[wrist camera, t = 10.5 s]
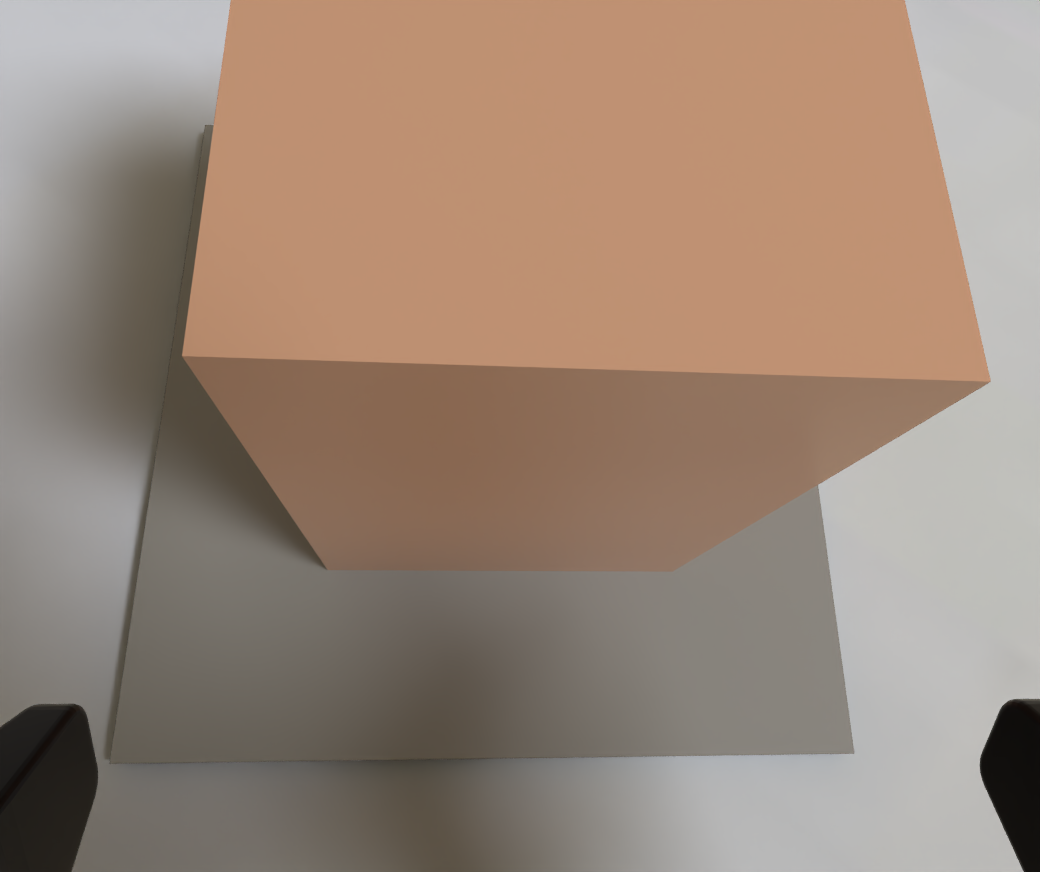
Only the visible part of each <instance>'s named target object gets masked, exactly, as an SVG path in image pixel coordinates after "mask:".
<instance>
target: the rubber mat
mask: <svg viewBox="0 0 1040 872" xmlns="http://www.w3.org/2000/svg"><path fill="white" fill-rule="evenodd" d="M213 127H214V125H205V130H204V137H203V144H202V150H201V157H200V164H199V170H198V177H197V184H196V190H195V197H194V203H193V210H192V217H191V223H190V230H189V237H188V243H187V250H186V257H185V263H184V270H183V277H182V283H181V290H180V297H179V303H178V310H177V317H176V323H175V330H174V337H173V343H172V350H171V357H170V363H169V370H168V377H167V383H166V390H165V397H164V403H163V410H162V417H161V423H160V430H159V437H158V443H157V450H156V457H155V463H154V470H153V477H152V483H151V490H150V496H149V503H148V510H147V516H146V523H145V530H144V536H143V543H142V550H141V556H140V563H139V570H138V576H137V583H136V590H135V596H134V603H133V610H132V616H131V623H130V630H129V636H128V643H127V650H126V656H125V663H124V670H123V676H122V683H121V690H120V696H119V703H118V710H117V716H116V723H115V730H114V736H113V743H112V750H111V756H110V763H109V764H118V763H192V762H266V761H340V760H414V759H488V758H562V757H636V756H710V755H784V754H854V748H853V740H852V733H851V725H850V718H849V711H848V703H847V696H846V689H845V681H844V674H843V666H842V659H841V652H840V644H839V637H838V630H837V622H836V615H835V607H834V600H833V593H832V585H831V578H830V571H829V563H828V556H827V548H826V541H825V534H824V526H823V519H822V512H821V504H820V497H819V489H818V485H817V486H815V487H813V488H812V489H810V490H808V491H807V492H805V493H803V494H802V495H800V496H798V497H797V498H795V499H793V500H792V501H790V502H788V503H787V504H785V505H783V506H782V507H780V508H778V509H777V510H775V511H773V512H771V513H770V514H768V515H766V516H765V517H763V518H761V519H760V520H758V521H756V522H755V523H753V524H751V525H750V526H748V527H746V528H745V529H743V530H741V531H740V532H738V533H736V534H735V535H733V536H731V537H730V538H728V539H726V540H725V541H723V542H721V543H720V544H718V545H716V546H715V547H713V548H711V549H709V550H708V551H706V552H704V553H703V554H701V555H699V556H698V557H696V558H694V559H693V560H691V561H689V562H688V563H686V564H684V565H683V566H681V567H679V568H678V569H676V570H674V571H673V572H644V571H415V570H327V568H326V567H325V565H324V564H323V562H322V561H321V559H320V558H319V557H318V555H317V554H316V552H315V551H314V549H313V548H312V546H311V545H310V543H309V542H308V540H307V539H306V537H305V536H304V535H303V533H302V532H301V530H300V529H299V527H298V526H297V524H296V523H295V521H294V520H293V518H292V517H291V515H290V514H289V512H288V511H287V510H286V508H285V507H284V505H283V504H282V502H281V501H280V499H279V498H278V496H277V495H276V493H275V492H274V490H273V489H272V488H271V486H270V485H269V483H268V482H267V480H266V479H265V477H264V476H263V474H262V473H261V471H260V470H259V468H258V467H257V466H256V464H255V463H254V461H253V460H252V458H251V457H250V455H249V454H248V452H247V451H246V449H245V448H244V446H243V445H242V443H241V442H240V441H239V439H238V438H237V436H236V435H235V433H234V432H233V430H232V429H231V427H230V426H229V424H228V423H227V421H226V420H225V419H224V417H223V416H222V414H221V413H220V411H219V410H218V408H217V407H216V405H215V404H214V402H213V401H212V399H211V398H210V397H209V395H208V394H207V392H206V391H205V389H204V388H203V386H202V385H201V383H200V382H199V380H198V379H197V377H196V376H195V374H194V373H193V372H192V370H191V369H190V367H189V366H188V364H187V363H186V361H185V360H184V358H183V357H182V352H183V345H184V338H185V330H186V323H187V316H188V309H189V301H190V294H191V287H192V280H193V272H194V265H195V258H196V250H197V243H198V236H199V229H200V221H201V214H202V207H203V200H204V192H205V185H206V178H207V170H208V163H209V156H210V149H211V141H212V134H213Z"/></svg>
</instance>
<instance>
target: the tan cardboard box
mask: <svg viewBox="0 0 1040 872" xmlns="http://www.w3.org/2000/svg"><path fill="white" fill-rule="evenodd" d="M182 357H183V358H184V360H185V361H186V363H187V364H188V366H189V367H190V369H191V370H192V372H193V373H194V374H195V376H196V377H197V379H198V380H199V382H200V383H201V385H202V386H203V388H204V389H205V391H206V392H207V394H208V395H209V397H210V398H211V399H212V401H213V402H214V404H215V405H216V407H217V408H218V410H219V411H220V413H221V414H222V416H223V417H224V419H225V420H226V421H227V423H228V424H229V426H230V427H231V429H232V430H233V432H234V433H235V435H236V436H237V438H238V439H239V441H240V442H241V443H242V445H243V446H244V448H245V449H246V451H247V452H248V454H249V455H250V457H251V458H252V460H253V461H254V463H255V464H256V466H257V467H258V468H259V470H260V471H261V473H262V474H263V476H264V477H265V479H266V480H267V482H268V483H269V485H270V486H271V488H272V489H273V490H274V492H275V493H276V495H277V496H278V498H279V499H280V501H281V502H282V504H283V505H284V507H285V508H286V510H287V511H288V512H289V514H290V515H291V517H292V518H293V520H294V521H295V523H296V524H297V526H298V527H299V529H300V530H301V532H302V533H303V535H304V536H305V537H306V539H307V540H308V542H309V543H310V545H311V546H312V548H313V549H314V551H315V552H316V554H317V555H318V557H319V558H320V559H321V561H322V562H323V564H324V565H325V567H326V568H327V570H415V571H644V572H673V571H674V570H676V569H678V568H679V567H681V566H683V565H684V564H686V563H688V562H689V561H691V560H693V559H694V558H696V557H698V556H699V555H701V554H703V553H704V552H706V551H708V550H709V549H711V548H713V547H715V546H716V545H718V544H720V543H721V542H723V541H725V540H726V539H728V538H730V537H731V536H733V535H735V534H736V533H738V532H740V531H741V530H743V529H745V528H746V527H748V526H750V525H751V524H753V523H755V522H756V521H758V520H760V519H761V518H763V517H765V516H766V515H768V514H770V513H771V512H773V511H775V510H777V509H778V508H780V507H782V506H783V505H785V504H787V503H788V502H790V501H792V500H793V499H795V498H797V497H798V496H800V495H802V494H803V493H805V492H807V491H808V490H810V489H812V488H813V487H815V486H817V485H818V484H820V483H822V482H823V481H825V480H827V479H828V478H830V477H832V476H834V475H835V474H837V473H839V472H840V471H842V470H844V469H845V468H847V467H849V466H850V465H852V464H854V463H855V462H857V461H859V460H860V459H862V458H864V457H865V456H867V455H869V454H870V453H872V452H874V451H875V450H877V449H879V448H880V447H882V446H884V445H885V444H887V443H889V442H890V441H892V440H894V439H896V438H897V437H899V436H901V435H902V434H904V433H906V432H907V431H909V430H911V429H912V428H914V427H916V426H917V425H919V424H921V423H922V422H924V421H926V420H927V419H929V418H931V417H932V416H934V415H936V414H937V413H939V412H941V411H942V410H944V409H946V408H947V407H949V406H951V405H953V404H954V403H956V402H958V401H959V400H961V399H963V398H964V397H966V396H968V395H969V394H971V393H973V392H974V391H976V390H978V389H979V388H981V387H983V386H984V385H986V384H988V383H989V382H991V381H990V376H989V372H988V367H987V363H986V359H985V354H984V350H983V345H982V341H981V336H980V332H979V328H978V323H977V319H976V314H975V310H974V305H973V301H972V297H971V292H970V288H969V283H968V279H967V274H966V270H965V266H964V261H963V257H962V252H961V248H960V244H959V239H958V235H957V230H956V226H955V221H954V217H953V213H952V208H951V204H950V199H949V195H948V190H947V186H946V182H945V177H944V173H943V168H942V164H941V159H940V155H939V151H938V146H937V142H936V137H935V133H934V129H933V124H932V120H931V115H930V111H929V106H928V102H927V98H926V93H925V89H924V84H923V80H922V75H921V71H920V67H919V62H918V58H917V53H916V49H915V44H914V40H913V36H912V31H911V27H910V22H909V18H908V13H907V9H906V5H905V0H231V3H230V10H229V18H228V25H227V32H226V40H225V47H224V54H223V61H222V69H221V76H220V83H219V90H218V98H217V105H216V112H215V120H214V127H213V134H212V141H211V149H210V156H209V163H208V170H207V178H206V185H205V192H204V200H203V207H202V214H201V221H200V229H199V236H198V243H197V250H196V258H195V265H194V272H193V280H192V287H191V294H190V301H189V309H188V316H187V323H186V330H185V338H184V345H183V352H182Z"/></svg>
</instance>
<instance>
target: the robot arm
mask: <svg viewBox="0 0 1040 872" xmlns="http://www.w3.org/2000/svg"><path fill="white" fill-rule="evenodd" d="M980 773H981V777H982V780H983V783H984V786H985V788H986V790H987V792H988V794H989V797H990V799H991V801H992V803H993V805H994V808H995V810H996V812H997V814H998V816H999V819H1000V821H1001V823H1002V825H1003V827H1004V830H1005V832H1006V834H1007V836H1008V838H1009V841H1010V843H1011V845H1012V847H1013V849H1014V851H1015V854H1016V856H1017V858H1018V860H1019V862H1020V865H1021V867H1022V869H1023V871H1024V872H1040V699H1013V700H1010V701H1008V702H1007V703H1005V704H1004V705H1003V706H1002V708H1001V709H1000V711H999V714H998V716H997V718H996V721H995V723H994V726H993V728H992V730H991V733H990V735H989V737H988V740H987V742H986V745H985V747H984V749H983V752H982V754H981V758H980ZM97 783H98V768H97V763H96V758H95V753H94V748H93V743H92V738H91V733H90V728H89V724H88V719H87V715H86V713H85V711H84V709H83V708H82V707H81V706H79V705H76V704H38V705H33V706H31V707H29V708H27V709H25V710H24V711H22V712H21V713H19V714H18V715H17V716H15V717H14V718H12V719H11V720H10V721H8V722H7V723H5V724H4V725H3V726H1V727H0V872H71V871H72V868H73V865H74V862H75V859H76V855H77V852H78V849H79V846H80V843H81V840H82V836H83V833H84V830H85V827H86V824H87V821H88V817H89V814H90V811H91V808H92V805H93V801H94V798H95V794H96V790H97Z"/></svg>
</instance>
